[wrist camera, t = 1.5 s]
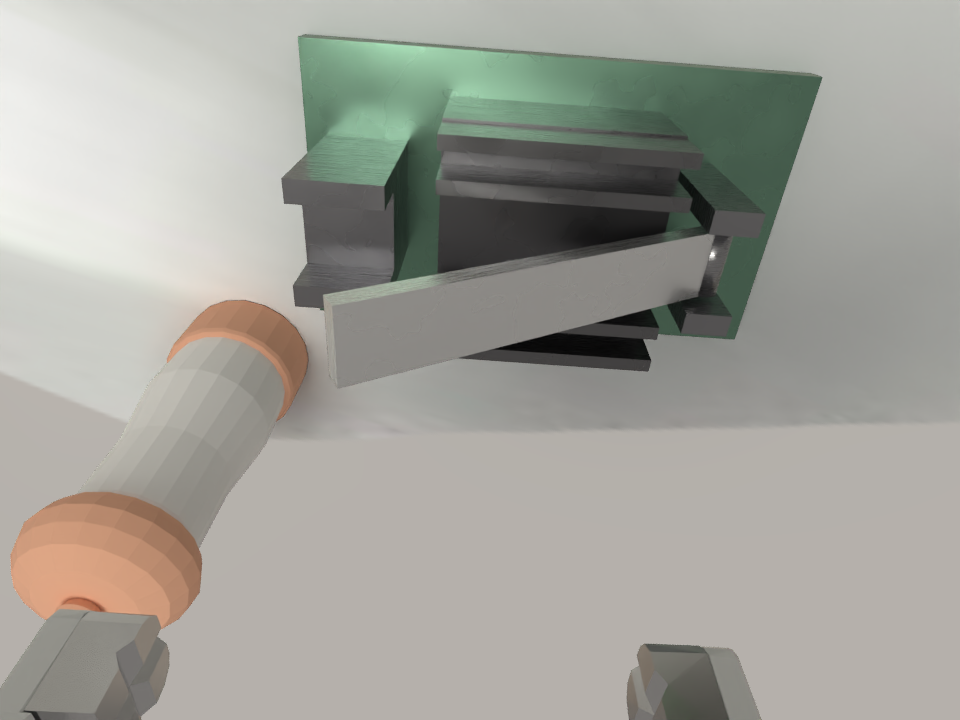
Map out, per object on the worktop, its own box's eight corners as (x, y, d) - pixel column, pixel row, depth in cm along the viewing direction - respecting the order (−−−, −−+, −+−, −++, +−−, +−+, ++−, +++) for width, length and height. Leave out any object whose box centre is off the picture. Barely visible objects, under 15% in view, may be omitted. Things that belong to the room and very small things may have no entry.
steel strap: (716, 220, 27) (741, 230, 26) (699, 281, 29) (722, 294, 28) (320, 290, 19) (335, 310, 18) (326, 371, 21) (341, 393, 20)
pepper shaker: (180, 373, 40) (-39, 653, 23) (204, 280, 36) (-36, 536, 20) (289, 414, 41) (154, 703, 25) (323, 329, 38) (191, 602, 21)
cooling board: (811, 73, 29) (914, 108, 22) (727, 329, 37) (784, 418, 30) (305, 34, 29) (240, 56, 22) (325, 300, 36) (282, 383, 29)
